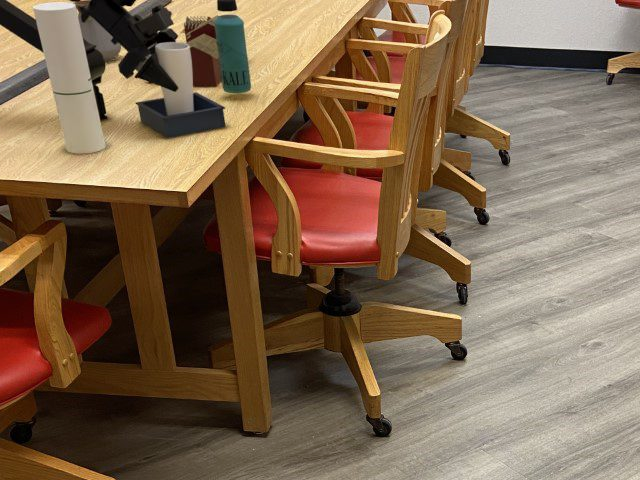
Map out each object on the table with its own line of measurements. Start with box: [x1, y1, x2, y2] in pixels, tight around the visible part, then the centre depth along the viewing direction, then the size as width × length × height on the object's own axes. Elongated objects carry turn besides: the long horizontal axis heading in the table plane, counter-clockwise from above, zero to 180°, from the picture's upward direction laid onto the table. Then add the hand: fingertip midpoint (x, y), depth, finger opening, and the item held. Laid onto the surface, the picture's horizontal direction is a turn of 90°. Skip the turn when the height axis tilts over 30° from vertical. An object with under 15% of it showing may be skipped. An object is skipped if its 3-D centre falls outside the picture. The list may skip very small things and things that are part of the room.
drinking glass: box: [155, 41, 194, 116], centre depth 195 cm, size 7×7×15 cm
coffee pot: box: [72, 0, 122, 63], centre depth 232 cm, size 21×12×15 cm, turn 12°
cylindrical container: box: [32, 1, 106, 155], centre depth 179 cm, size 7×7×25 cm
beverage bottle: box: [214, 0, 252, 94], centre depth 210 cm, size 6×7×20 cm
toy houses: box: [147, 14, 222, 88], centre depth 237 cm, size 45×20×10 cm, turn 1°
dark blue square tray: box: [135, 91, 226, 139], centre depth 198 cm, size 13×13×4 cm
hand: (183, 85), depth 195 cm, fingers closed on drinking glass, 6 cm apart
